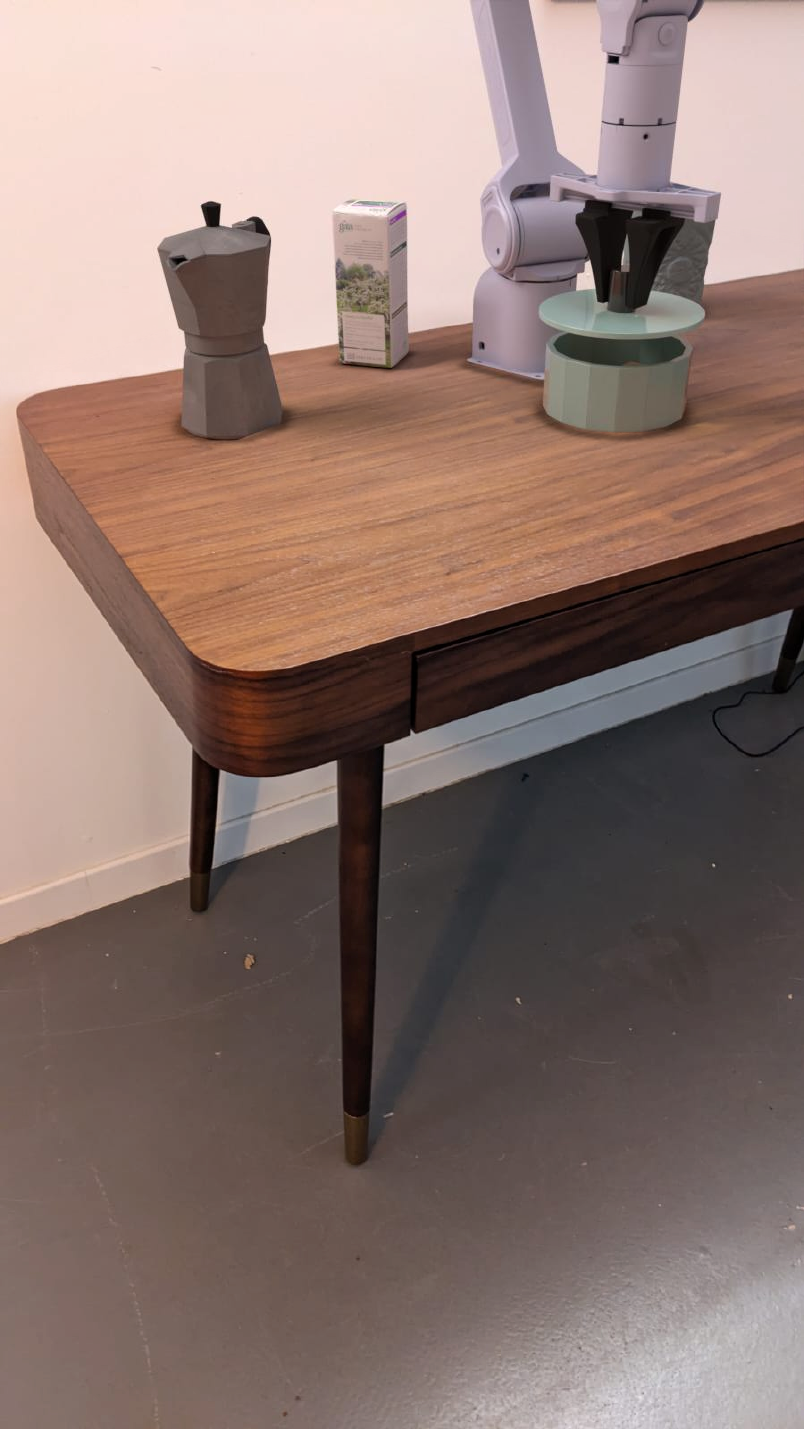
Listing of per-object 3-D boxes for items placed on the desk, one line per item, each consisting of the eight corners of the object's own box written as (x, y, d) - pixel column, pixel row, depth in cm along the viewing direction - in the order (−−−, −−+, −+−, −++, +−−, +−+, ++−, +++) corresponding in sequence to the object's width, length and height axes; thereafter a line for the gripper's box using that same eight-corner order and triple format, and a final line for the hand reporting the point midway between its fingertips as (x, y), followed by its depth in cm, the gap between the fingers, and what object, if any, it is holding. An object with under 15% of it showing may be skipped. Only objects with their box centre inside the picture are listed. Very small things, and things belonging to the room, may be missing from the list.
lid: (505, 326, 95) (507, 271, 92) (597, 292, 103) (601, 241, 101) (647, 358, 87) (653, 300, 85) (733, 319, 95) (742, 264, 93)
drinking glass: (684, 328, 121) (699, 207, 114) (597, 315, 125) (607, 198, 118) (717, 305, 127) (733, 191, 121) (634, 294, 132) (645, 183, 125)
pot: (516, 416, 99) (519, 348, 96) (593, 381, 107) (598, 317, 103) (634, 449, 93) (642, 377, 89) (708, 409, 100) (718, 342, 97)
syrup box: (410, 352, 115) (408, 199, 107) (391, 370, 110) (388, 211, 102) (358, 348, 116) (352, 196, 108) (337, 365, 112) (329, 208, 104)
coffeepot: (244, 455, 93) (221, 222, 83) (147, 441, 96) (113, 214, 86) (323, 395, 105) (311, 185, 94) (234, 384, 108) (213, 179, 97)
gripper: (531, 119, 88) (523, 298, 96) (696, 136, 80) (672, 329, 88) (582, 110, 92) (570, 282, 100) (743, 124, 84) (717, 310, 92)
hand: (621, 303), depth 94 cm, fingers closed on lid, 2 cm apart
